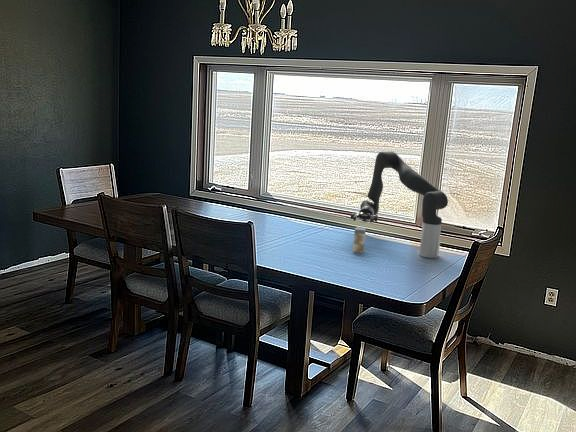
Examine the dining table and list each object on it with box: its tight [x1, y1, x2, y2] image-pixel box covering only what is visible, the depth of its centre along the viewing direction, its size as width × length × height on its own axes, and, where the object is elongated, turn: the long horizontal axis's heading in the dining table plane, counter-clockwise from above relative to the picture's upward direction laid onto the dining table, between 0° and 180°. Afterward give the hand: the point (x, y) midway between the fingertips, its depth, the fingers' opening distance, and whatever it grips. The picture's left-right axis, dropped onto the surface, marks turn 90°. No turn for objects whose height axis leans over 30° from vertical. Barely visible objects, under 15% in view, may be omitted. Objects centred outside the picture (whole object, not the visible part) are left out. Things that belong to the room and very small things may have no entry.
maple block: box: [352, 226, 367, 254], centre depth 300 cm, size 5×5×12 cm
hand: (362, 219), depth 309 cm, fingers open, 8 cm apart
